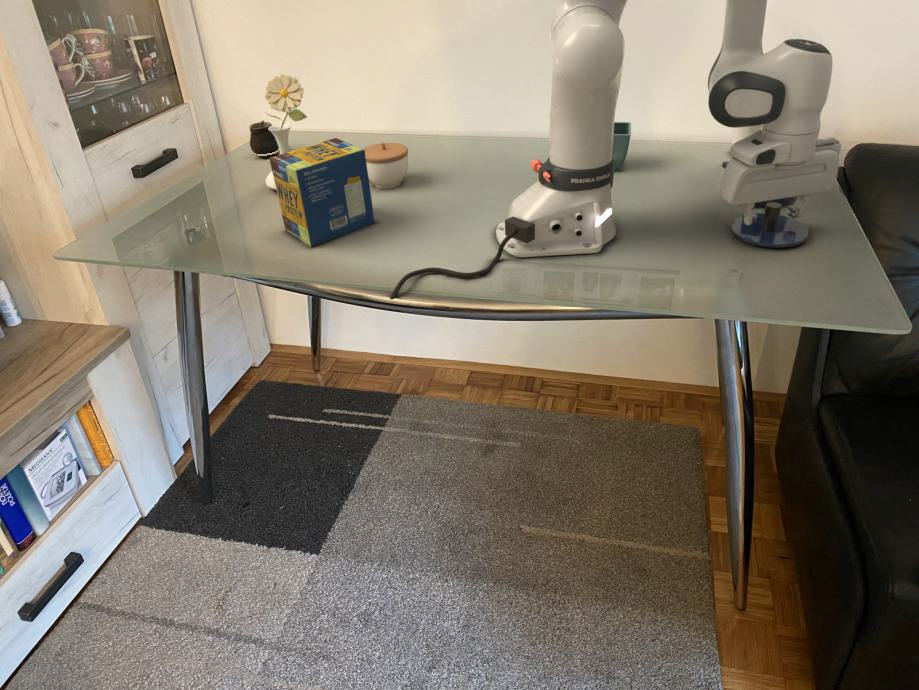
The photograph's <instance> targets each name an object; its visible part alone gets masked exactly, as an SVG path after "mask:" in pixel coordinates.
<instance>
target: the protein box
mask: <svg viewBox="0 0 919 690" xmlns="http://www.w3.org/2000/svg"><path fill="white" fill-rule="evenodd" d="M268 159H269V163H270V167H271V168H270V169H271V171H272V172H273V177H274V181H275V186H276V190H275V191H276V195H277V198H278V203H279V207H280V212H281V218H282V221H283V226H284V231H285V232H286V233H288V234H289V235H291V236H292V237H294V238H296V239H297V240H299V241H301V243H304V244H305V245H307V247H310V248H312V247H314V246H318V245H321V244H323V243H325V242H328V241H330V240H334V239H337V238H339V237H342V236H344V235H347V234H350V233H352V232H355V231H357V230H361V229H363V228H366V227H367V226H371V225H373V224H375V222H376V221H375V214H374V208H373V200H372V193H371V185H370V181H369V178H368V171H367V164H366V157H365V150H364V148H361V147H359V146H356V145H354V144H351V143H349V142H347V141H345V140H342V139H339V138H337V137H334V138H330V139H327V140H324V141H322V142H318V143H314V144H311V145H307V146H304V147H301V148H297V149H294V150H291V151H290V152H287V153H284V154H281V155H280V154H276V155H275V156H273V157H270V158H268Z"/></svg>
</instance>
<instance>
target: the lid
mask: <svg viewBox="0 0 919 690" xmlns="http://www.w3.org/2000/svg"><path fill="white" fill-rule="evenodd" d="M782 208H783V206H782V205H781V204H780V203H776V202H769V203H767V204H766V207H765V208H764V212H763V213H755V214H756V215H757V216H758V217H757V220H756V221H757V222H756V224H753V225H746V224H745V223H744V215H741V216H738V217H736V218H735V219H733V220H732V222H731V223H730V232H731V233H732V235H733V236H734V237H736V238H737V239H738V240H740V241H743V242H745V243H748V244H751V245H755V246H758V247H763V248H764V247H765V248H789V247H794V246H799V245H800V244H802V243H804V242H805V241H806V240H807V239H808V237H809V229H808V227H807V226H806V225H805V224H803V223H802V222H800V221H798V220H796V219H795V218H791V217H789V216H785V215H781V212H782Z"/></svg>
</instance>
